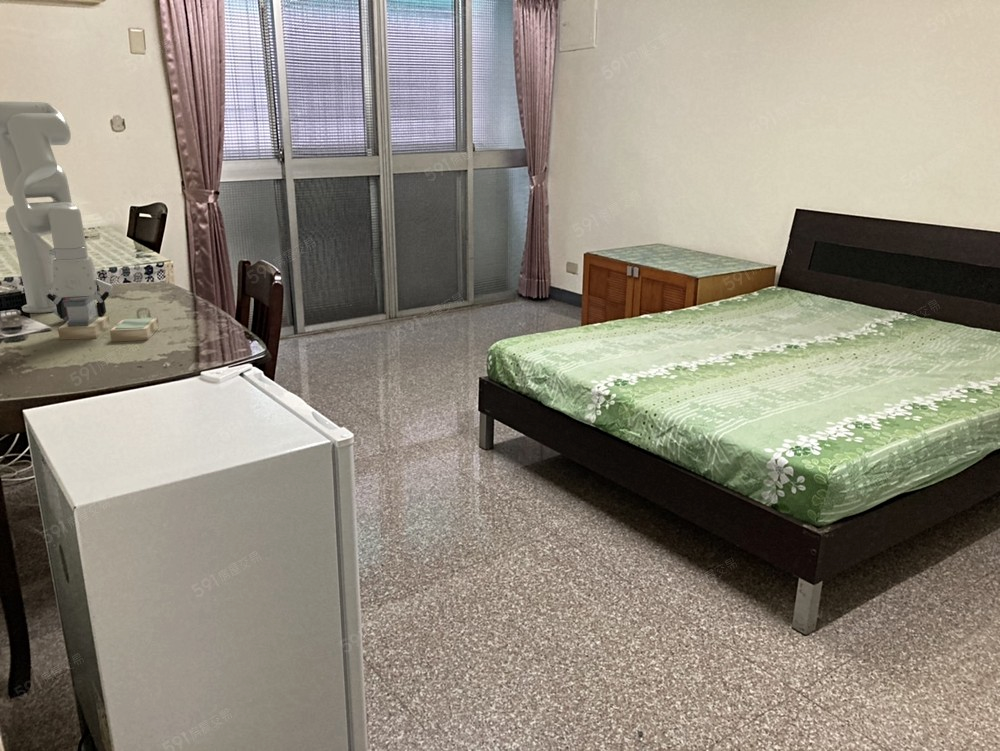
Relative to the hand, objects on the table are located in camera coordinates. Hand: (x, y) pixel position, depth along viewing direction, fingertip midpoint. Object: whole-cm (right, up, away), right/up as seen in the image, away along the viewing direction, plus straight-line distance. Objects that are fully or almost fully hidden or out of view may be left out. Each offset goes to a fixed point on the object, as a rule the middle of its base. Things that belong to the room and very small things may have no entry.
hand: (82, 316), depth 206 cm
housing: (0, -1, 0) cm, 1 cm away
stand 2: (+15, -5, 0) cm, 15 cm away
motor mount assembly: (-9, 0, +15) cm, 18 cm away
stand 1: (0, -4, +1) cm, 4 cm away
